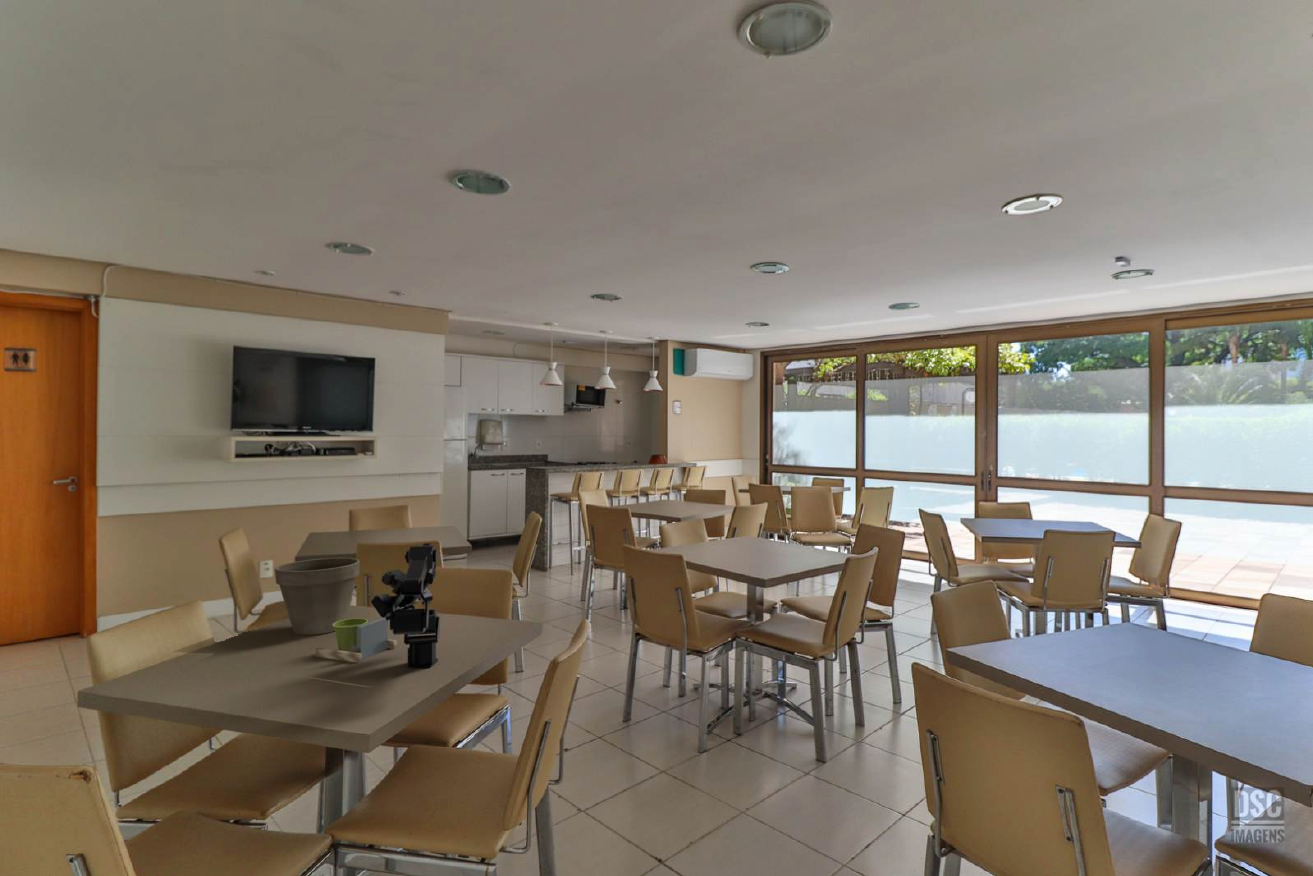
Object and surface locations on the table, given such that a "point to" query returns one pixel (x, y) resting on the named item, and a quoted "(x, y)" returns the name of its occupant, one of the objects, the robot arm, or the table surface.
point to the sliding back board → (372, 638)
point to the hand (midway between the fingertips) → (387, 619)
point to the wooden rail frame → (347, 653)
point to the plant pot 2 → (347, 632)
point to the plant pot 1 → (317, 592)
